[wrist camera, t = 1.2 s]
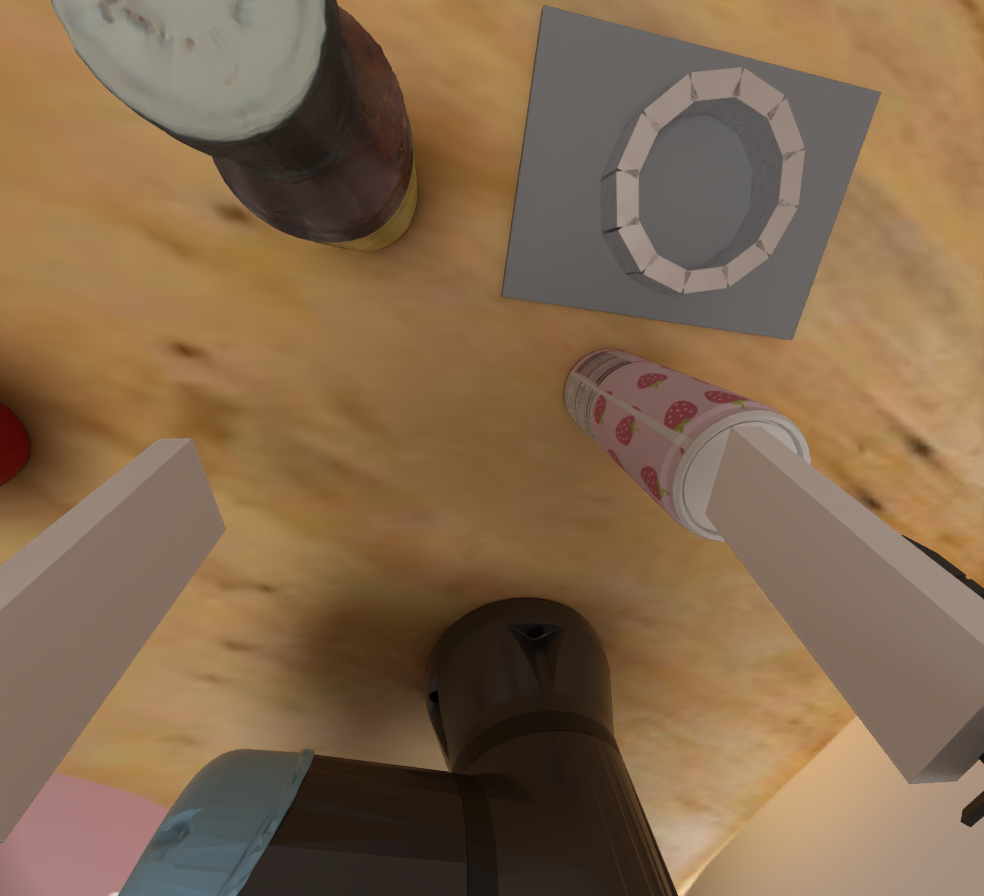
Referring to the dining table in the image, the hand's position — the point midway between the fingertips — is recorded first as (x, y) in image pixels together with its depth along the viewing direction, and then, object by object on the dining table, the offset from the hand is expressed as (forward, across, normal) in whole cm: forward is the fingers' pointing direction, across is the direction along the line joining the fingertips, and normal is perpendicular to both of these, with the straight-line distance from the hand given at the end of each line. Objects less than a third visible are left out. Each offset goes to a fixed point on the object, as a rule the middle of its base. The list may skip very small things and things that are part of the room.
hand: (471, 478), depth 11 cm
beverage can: (+19, -9, +5) cm, 21 cm away
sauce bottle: (+20, +6, -6) cm, 21 cm away
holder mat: (+20, -13, -6) cm, 25 cm away
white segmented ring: (+20, -13, -6) cm, 25 cm away
